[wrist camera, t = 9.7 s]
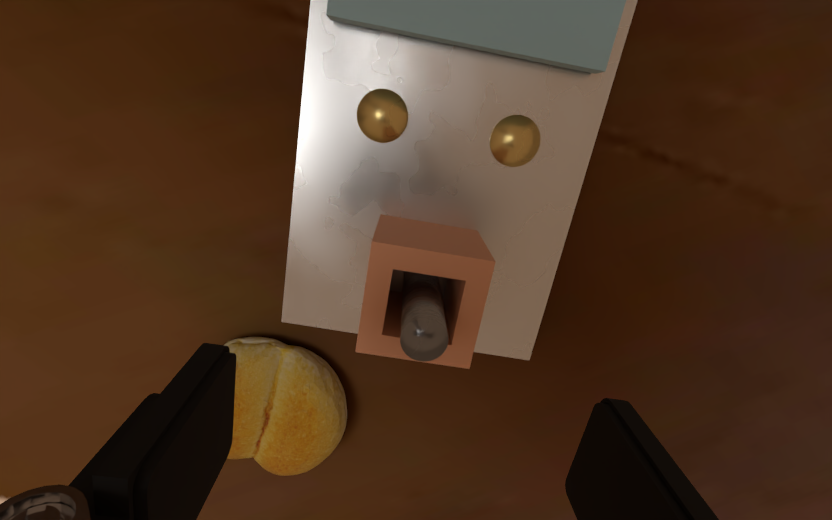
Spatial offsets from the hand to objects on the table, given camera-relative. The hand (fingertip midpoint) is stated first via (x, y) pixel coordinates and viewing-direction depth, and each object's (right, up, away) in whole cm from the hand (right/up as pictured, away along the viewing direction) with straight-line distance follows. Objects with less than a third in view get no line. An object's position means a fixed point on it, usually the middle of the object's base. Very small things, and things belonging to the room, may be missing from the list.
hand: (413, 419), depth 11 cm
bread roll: (-9, -4, +16) cm, 19 cm away
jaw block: (0, +4, +12) cm, 12 cm away
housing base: (+2, +10, +11) cm, 15 cm away
